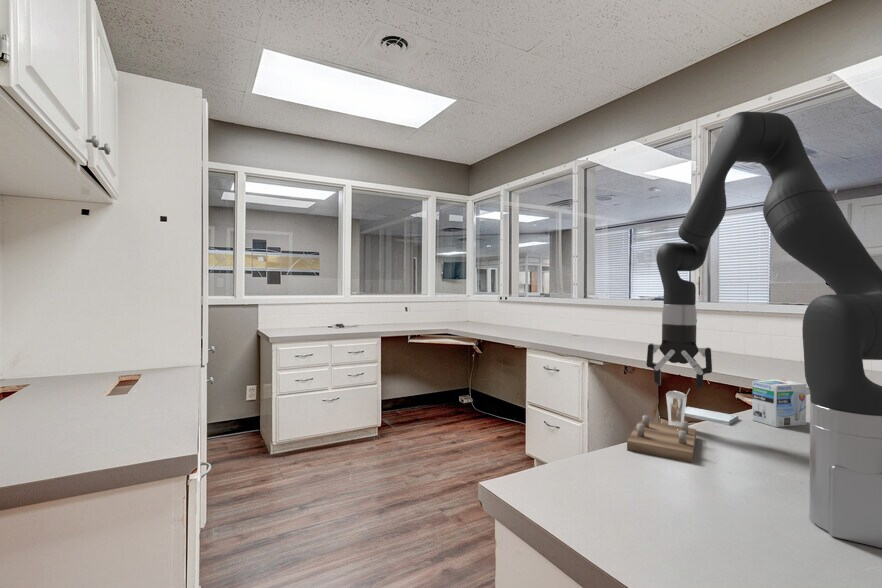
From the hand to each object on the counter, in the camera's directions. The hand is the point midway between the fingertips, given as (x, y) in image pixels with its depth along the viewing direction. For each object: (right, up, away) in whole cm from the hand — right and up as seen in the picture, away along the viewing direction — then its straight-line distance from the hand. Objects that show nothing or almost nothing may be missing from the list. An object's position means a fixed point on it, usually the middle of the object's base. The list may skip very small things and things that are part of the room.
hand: (678, 387), depth 106 cm
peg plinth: (-10, -10, -12) cm, 18 cm away
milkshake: (0, -10, 0) cm, 10 cm away
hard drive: (+14, -11, +10) cm, 20 cm away
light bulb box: (+30, -11, +5) cm, 32 cm away
